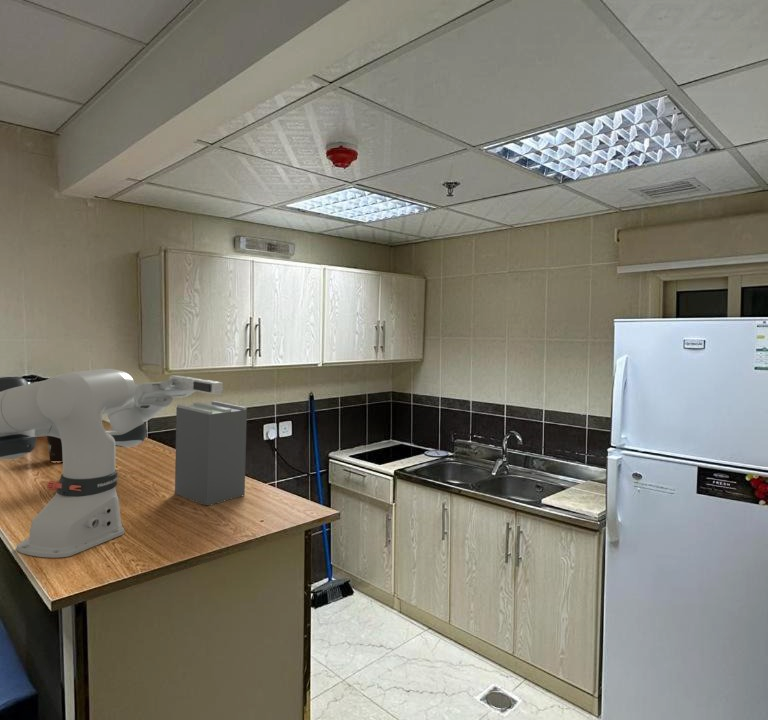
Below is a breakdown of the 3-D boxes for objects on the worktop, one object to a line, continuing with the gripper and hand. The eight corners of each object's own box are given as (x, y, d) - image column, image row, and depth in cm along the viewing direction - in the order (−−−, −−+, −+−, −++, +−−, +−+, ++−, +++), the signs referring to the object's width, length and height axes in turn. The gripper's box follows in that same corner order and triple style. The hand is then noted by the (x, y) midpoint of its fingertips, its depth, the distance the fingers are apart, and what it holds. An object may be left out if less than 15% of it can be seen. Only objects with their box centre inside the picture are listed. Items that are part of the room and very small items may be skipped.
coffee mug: (72, 463, 183) (72, 435, 182) (43, 464, 180) (43, 436, 179) (78, 455, 194) (78, 428, 193) (51, 456, 190) (51, 429, 190)
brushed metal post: (222, 393, 160) (222, 382, 160) (212, 394, 157) (213, 383, 157) (177, 385, 174) (178, 375, 174) (168, 386, 171) (168, 375, 171)
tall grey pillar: (244, 495, 157) (246, 407, 155) (206, 506, 146) (209, 411, 145) (212, 484, 166) (214, 400, 165) (174, 493, 156) (176, 404, 154)
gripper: (188, 402, 186) (208, 386, 179) (131, 408, 170) (151, 391, 162) (183, 386, 188) (203, 370, 180) (127, 390, 171) (146, 372, 164)
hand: (178, 380), depth 171 cm, fingers closed on brushed metal post, 3 cm apart
